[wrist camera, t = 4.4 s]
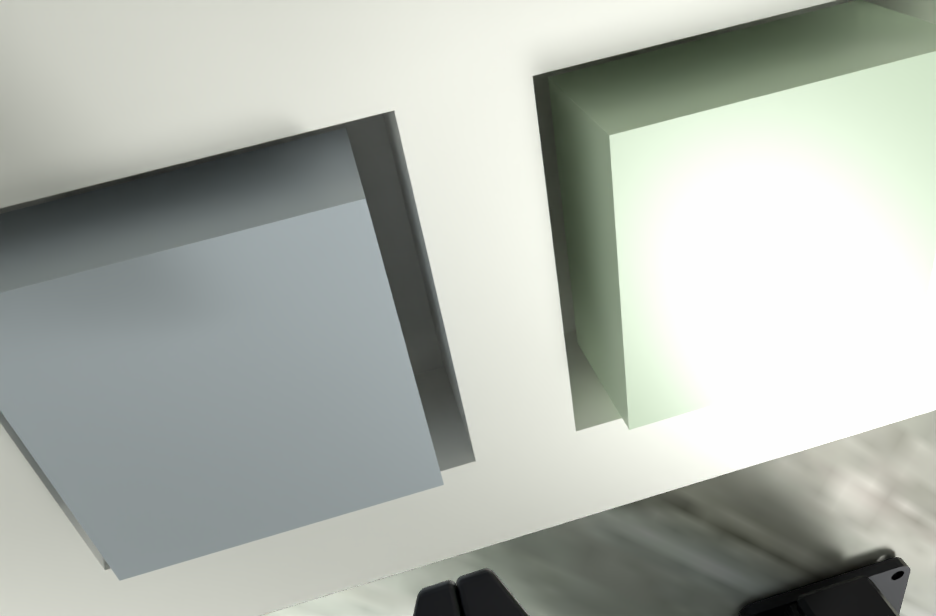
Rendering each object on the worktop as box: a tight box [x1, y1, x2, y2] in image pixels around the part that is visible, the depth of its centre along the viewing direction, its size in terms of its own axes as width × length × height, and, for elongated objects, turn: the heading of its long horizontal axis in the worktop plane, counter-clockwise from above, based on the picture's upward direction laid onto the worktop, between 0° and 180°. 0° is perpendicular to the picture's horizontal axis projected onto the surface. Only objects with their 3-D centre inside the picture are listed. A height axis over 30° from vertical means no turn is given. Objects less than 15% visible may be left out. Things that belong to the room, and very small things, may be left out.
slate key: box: [0, 128, 444, 581], centre depth 13 cm, size 6×6×3 cm
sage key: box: [548, 0, 936, 430], centre depth 14 cm, size 6×6×3 cm
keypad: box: [0, 0, 936, 616], centre depth 14 cm, size 12×30×4 cm, turn 100°
